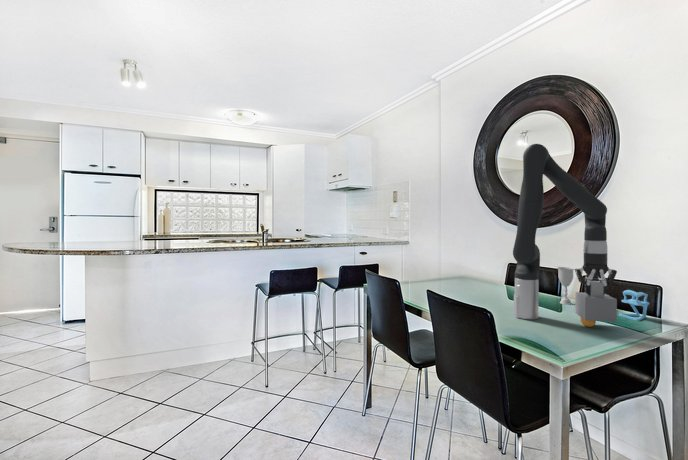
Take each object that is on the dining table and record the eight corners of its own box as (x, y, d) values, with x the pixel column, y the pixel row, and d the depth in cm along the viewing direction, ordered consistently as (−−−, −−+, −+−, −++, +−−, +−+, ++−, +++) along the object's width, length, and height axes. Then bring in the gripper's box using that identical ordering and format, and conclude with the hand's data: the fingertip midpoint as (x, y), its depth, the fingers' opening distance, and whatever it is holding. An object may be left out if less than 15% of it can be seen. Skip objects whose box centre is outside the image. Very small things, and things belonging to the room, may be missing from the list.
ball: (580, 323, 130) (587, 313, 129) (575, 320, 134) (582, 310, 134) (593, 330, 128) (600, 320, 128) (588, 326, 133) (595, 316, 132)
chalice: (574, 302, 167) (574, 267, 167) (574, 305, 161) (575, 269, 161) (557, 300, 171) (557, 266, 171) (557, 303, 165) (557, 268, 165)
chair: (652, 319, 138) (652, 291, 138) (637, 321, 136) (637, 292, 136) (632, 314, 146) (632, 287, 145) (618, 315, 144) (618, 288, 144)
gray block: (585, 320, 127) (585, 283, 127) (575, 312, 137) (575, 279, 136) (616, 322, 124) (617, 284, 123) (604, 314, 134) (604, 280, 133)
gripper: (577, 252, 128) (578, 295, 129) (621, 252, 124) (621, 297, 124) (571, 250, 135) (571, 291, 136) (612, 251, 131) (612, 293, 131)
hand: (595, 294), depth 130 cm, fingers closed on gray block, 4 cm apart
